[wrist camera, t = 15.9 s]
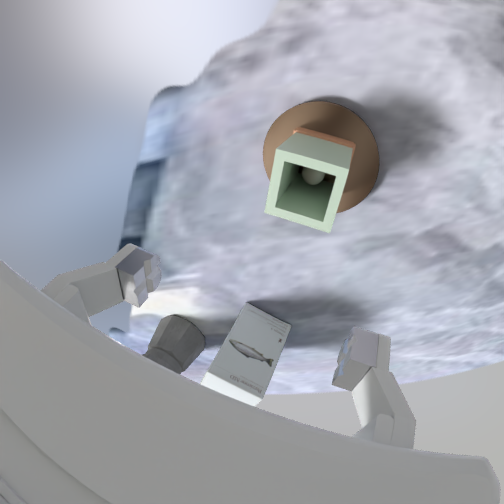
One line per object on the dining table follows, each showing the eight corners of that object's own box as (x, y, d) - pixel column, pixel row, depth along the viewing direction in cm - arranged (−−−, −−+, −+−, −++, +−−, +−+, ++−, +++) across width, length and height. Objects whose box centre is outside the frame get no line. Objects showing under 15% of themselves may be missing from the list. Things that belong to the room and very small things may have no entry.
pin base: (392, 121, 23) (399, 132, 18) (359, 222, 30) (356, 255, 25) (276, 89, 25) (254, 93, 21) (259, 191, 32) (237, 216, 27)
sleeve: (356, 142, 24) (352, 167, 18) (341, 195, 28) (331, 236, 21) (298, 126, 25) (273, 145, 19) (287, 178, 29) (261, 214, 22)
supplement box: (293, 324, 41) (265, 400, 31) (273, 349, 46) (244, 418, 36) (246, 299, 41) (206, 371, 32) (231, 327, 46) (194, 392, 36)
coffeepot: (206, 317, 47) (146, 409, 33) (223, 355, 51) (176, 440, 37) (137, 308, 53) (79, 378, 39) (157, 343, 58) (109, 411, 44)
